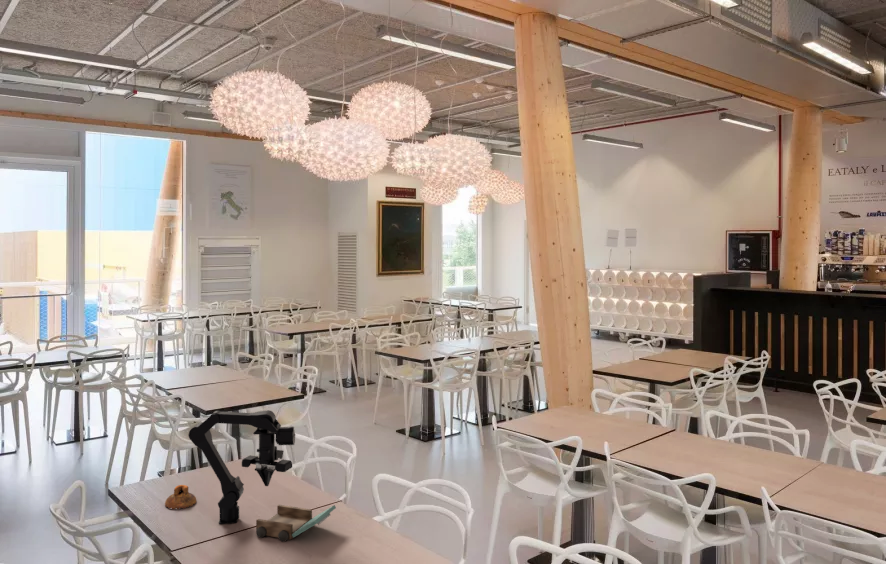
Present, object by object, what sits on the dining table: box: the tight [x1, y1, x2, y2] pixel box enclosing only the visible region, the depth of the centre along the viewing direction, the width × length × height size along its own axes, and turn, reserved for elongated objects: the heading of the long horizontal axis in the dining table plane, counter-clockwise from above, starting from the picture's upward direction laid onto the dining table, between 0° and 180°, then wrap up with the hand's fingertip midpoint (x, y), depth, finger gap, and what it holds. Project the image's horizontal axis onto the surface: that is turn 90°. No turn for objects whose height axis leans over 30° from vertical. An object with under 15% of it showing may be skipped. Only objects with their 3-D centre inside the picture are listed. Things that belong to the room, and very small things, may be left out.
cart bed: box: [255, 504, 313, 542], centre depth 240 cm, size 14×17×6 cm
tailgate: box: [292, 505, 337, 539], centre depth 236 cm, size 2×15×11 cm
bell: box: [164, 484, 197, 510], centre depth 263 cm, size 12×12×7 cm
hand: (266, 485), depth 248 cm, fingers closed
